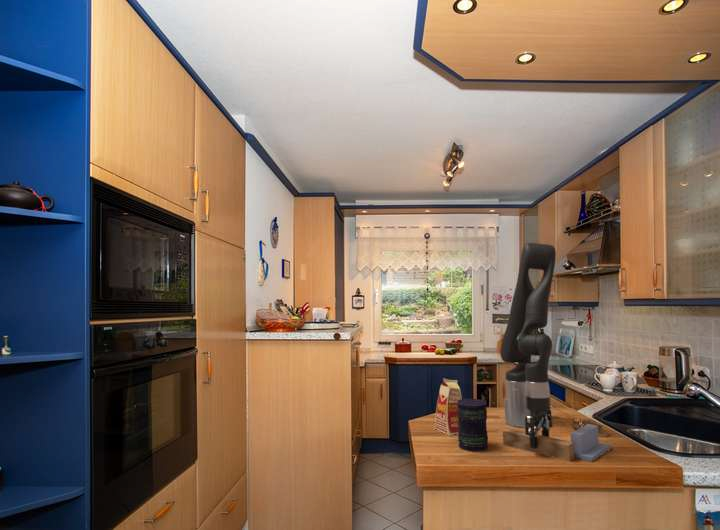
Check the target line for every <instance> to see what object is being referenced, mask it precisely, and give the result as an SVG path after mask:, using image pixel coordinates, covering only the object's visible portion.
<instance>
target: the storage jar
mask: <svg viewBox="0 0 720 530" xmlns="http://www.w3.org/2000/svg"><path fill="white" fill-rule="evenodd" d="M457 404H458V406H457V408H458V409H457V413H458V415H457V416H458V419H459V429H458V434H457V440H458V447H459V449H460V448H461V449H460V450H463V451H466V452H473V453H479V452H480V453H481V452H485V451H487V450H488V448H489V446H488V441H489V436H488V430H487V420H488V416H487V415H488V410H487V401H485V400H482V399H477V398H462V399H461V400H458V401H457Z"/></svg>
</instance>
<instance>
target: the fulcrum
mask: <svg viewBox="0 0 720 530" xmlns="http://www.w3.org/2000/svg"><path fill="white" fill-rule="evenodd" d="M570 442H574V454H575V457H577V458H576V459H579V458H580V460H583V459H584V461H587V462H591V463H593V462H594V461H596V460H597V459H598V458H597V457H599V456H600V455H601V454H603V453H605V452H606V451H608V450H609V451H611V450H612V445H611V444H607V443H603V442H599V438H598V426H597V425H591V424H587V425H585V426H583V427H581V428H579V429H576V430H573V431H572V432H570ZM610 449H611V450H610ZM609 451H608V452H609ZM606 453H607V452H606ZM606 453H605V454H606ZM603 455H604V454H603ZM600 457H601V456H600ZM600 457H599V458H600ZM596 458H597V459H596ZM595 459H596V460H595ZM592 461H593V462H592Z"/></svg>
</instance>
